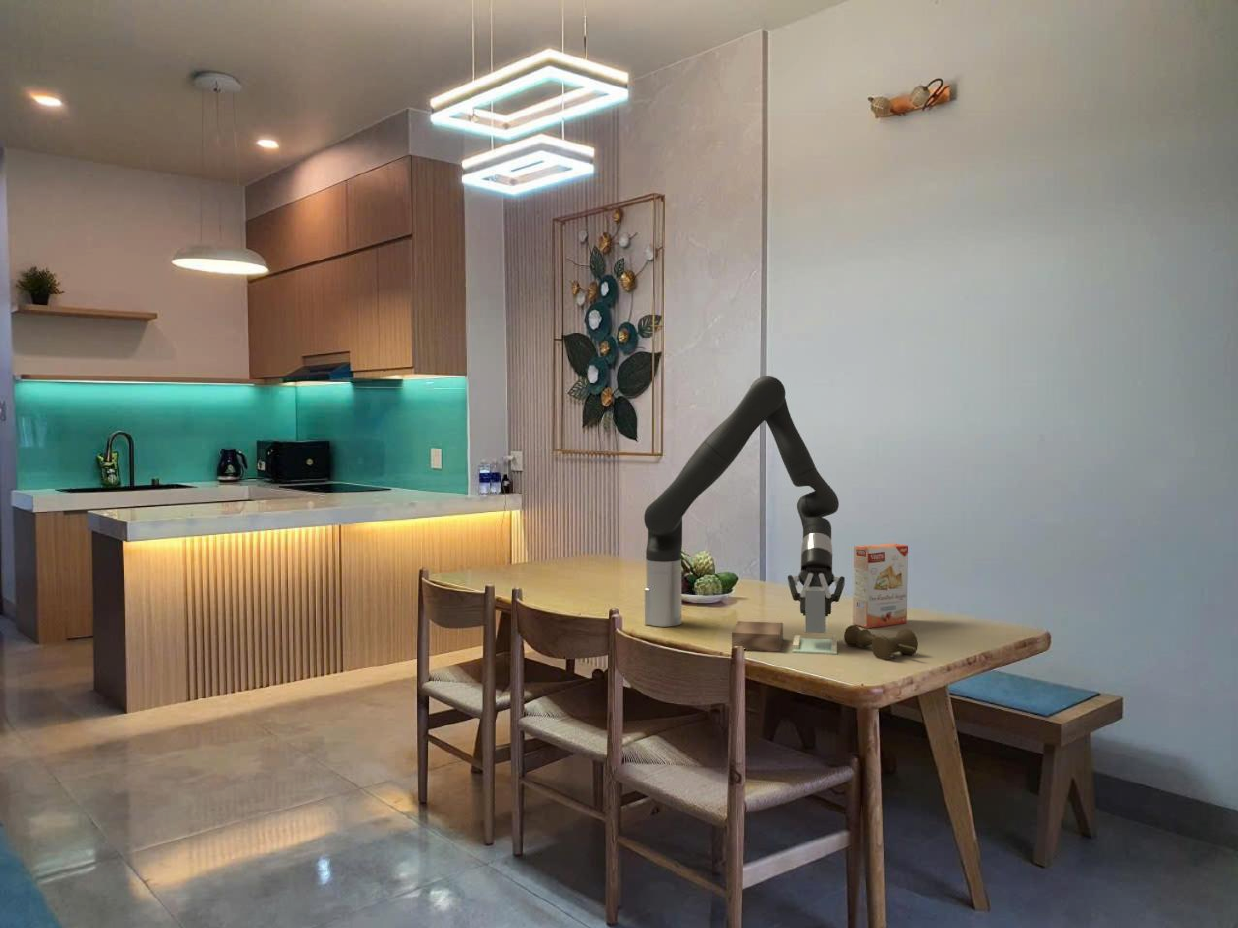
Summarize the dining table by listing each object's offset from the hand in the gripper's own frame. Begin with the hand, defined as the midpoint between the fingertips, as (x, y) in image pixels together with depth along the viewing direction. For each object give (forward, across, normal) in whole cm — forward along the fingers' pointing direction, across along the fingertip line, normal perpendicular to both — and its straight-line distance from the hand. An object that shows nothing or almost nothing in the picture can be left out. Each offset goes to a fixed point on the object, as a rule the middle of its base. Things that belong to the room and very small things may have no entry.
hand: (815, 613), depth 219 cm
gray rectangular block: (+2, 0, +4) cm, 5 cm away
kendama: (+7, +15, +5) cm, 17 cm away
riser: (+4, -14, +7) cm, 16 cm away
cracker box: (-15, +16, +28) cm, 35 cm away
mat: (+5, 0, +7) cm, 8 cm away
